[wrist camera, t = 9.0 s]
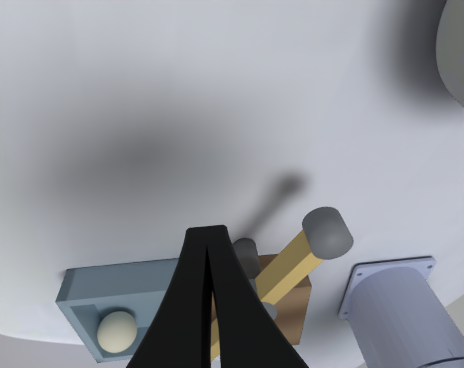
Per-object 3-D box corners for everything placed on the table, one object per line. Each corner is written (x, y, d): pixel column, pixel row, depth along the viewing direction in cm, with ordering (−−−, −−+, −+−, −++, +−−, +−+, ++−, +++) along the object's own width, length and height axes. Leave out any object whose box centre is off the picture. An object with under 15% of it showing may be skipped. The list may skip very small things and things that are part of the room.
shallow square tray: (204, 321, 34) (205, 350, 31) (104, 332, 33) (97, 362, 31) (194, 256, 27) (194, 287, 25) (67, 269, 26) (55, 302, 24)
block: (290, 311, 34) (300, 349, 31) (207, 320, 34) (209, 360, 30) (303, 232, 26) (317, 272, 23) (195, 243, 26) (196, 285, 23)
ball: (146, 325, 31) (131, 362, 29) (114, 321, 32) (97, 356, 29) (137, 306, 29) (121, 344, 26) (103, 301, 30) (83, 338, 27)
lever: (204, 355, 29) (204, 379, 28) (174, 350, 28) (172, 375, 26) (351, 215, 19) (365, 240, 18) (315, 199, 18) (326, 224, 17)
